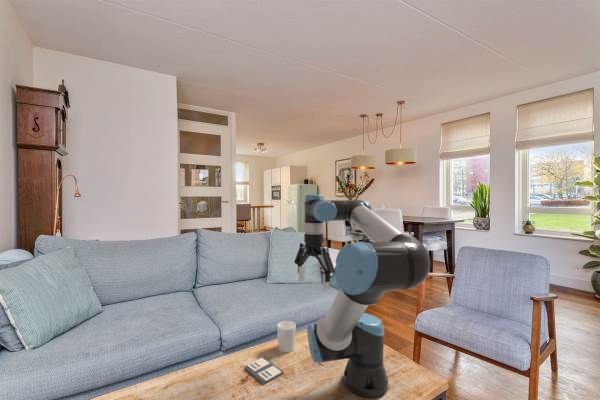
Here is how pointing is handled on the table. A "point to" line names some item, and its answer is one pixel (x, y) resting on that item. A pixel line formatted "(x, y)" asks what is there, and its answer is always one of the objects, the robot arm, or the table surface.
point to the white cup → (286, 336)
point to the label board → (263, 370)
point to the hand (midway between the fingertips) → (313, 285)
